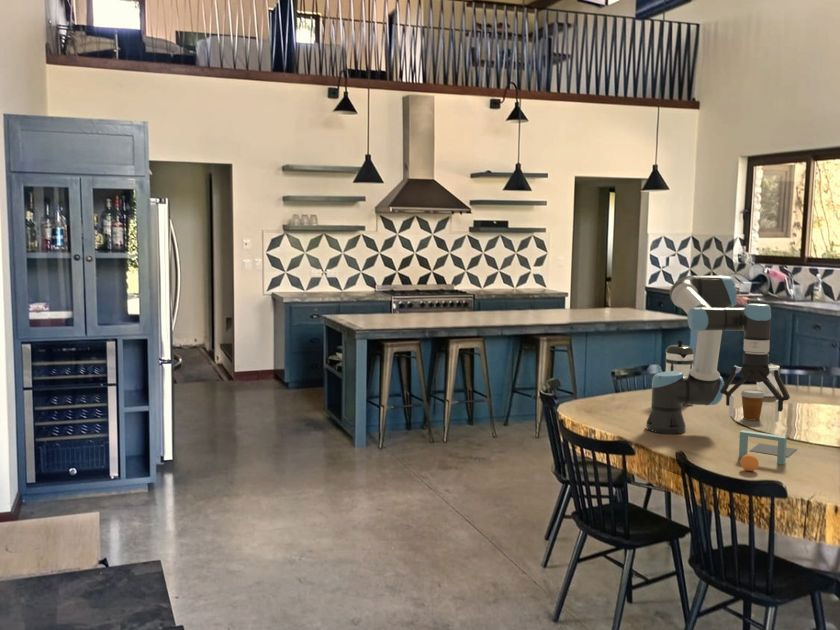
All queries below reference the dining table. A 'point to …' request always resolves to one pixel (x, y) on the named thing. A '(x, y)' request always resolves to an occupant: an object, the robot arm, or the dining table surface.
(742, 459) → the ball
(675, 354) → the coffee press
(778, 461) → the bridge
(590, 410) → the dining table surface
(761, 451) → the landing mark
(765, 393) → the jar
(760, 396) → the disposable coffee cup
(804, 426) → the dining table surface
